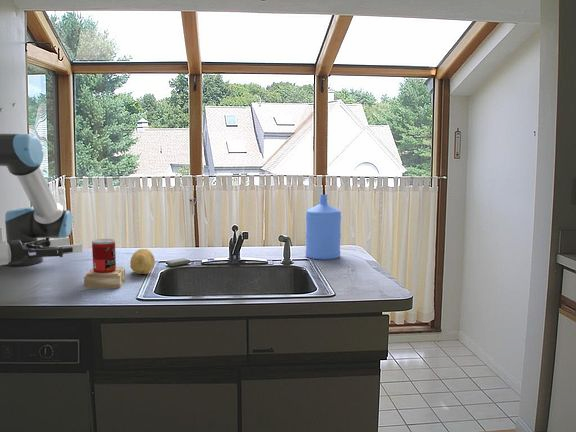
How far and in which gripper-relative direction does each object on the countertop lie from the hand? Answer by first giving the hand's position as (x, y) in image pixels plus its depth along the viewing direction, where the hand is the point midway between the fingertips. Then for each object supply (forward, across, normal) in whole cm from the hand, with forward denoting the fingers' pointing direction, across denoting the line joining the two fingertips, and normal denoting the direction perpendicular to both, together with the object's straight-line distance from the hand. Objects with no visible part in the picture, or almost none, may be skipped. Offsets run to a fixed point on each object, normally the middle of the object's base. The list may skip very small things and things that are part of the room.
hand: (75, 244), depth 190 cm
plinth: (+10, 0, -16) cm, 19 cm away
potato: (+27, -7, -16) cm, 32 cm away
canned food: (+10, 0, -11) cm, 15 cm away
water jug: (+105, +11, -17) cm, 107 cm away
